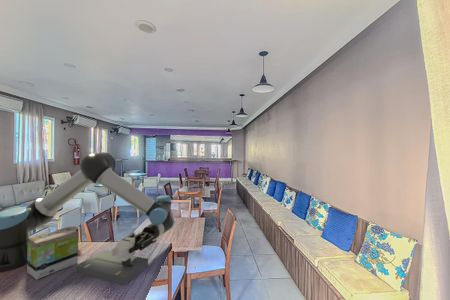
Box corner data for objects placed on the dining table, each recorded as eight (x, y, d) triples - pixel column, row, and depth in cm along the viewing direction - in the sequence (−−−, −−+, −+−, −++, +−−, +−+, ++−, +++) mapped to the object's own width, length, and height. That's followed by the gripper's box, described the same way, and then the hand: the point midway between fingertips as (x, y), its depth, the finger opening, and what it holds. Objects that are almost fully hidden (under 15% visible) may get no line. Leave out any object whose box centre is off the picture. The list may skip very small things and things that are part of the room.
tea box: (36, 281, 84) (36, 243, 84) (26, 272, 89) (26, 237, 89) (78, 263, 97) (78, 230, 96) (68, 257, 102) (68, 226, 102)
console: (75, 273, 89) (75, 265, 89) (103, 256, 103) (103, 250, 103) (124, 285, 82) (124, 277, 82) (148, 265, 95) (148, 258, 95)
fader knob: (116, 267, 88) (116, 242, 88) (127, 259, 94) (127, 236, 93) (124, 268, 87) (124, 243, 87) (135, 261, 93) (135, 237, 92)
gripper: (167, 241, 105) (135, 267, 83) (138, 236, 110) (100, 259, 88) (168, 226, 105) (134, 247, 83) (138, 222, 110) (99, 241, 88)
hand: (117, 253), depth 85 cm, fingers closed on fader knob, 4 cm apart
